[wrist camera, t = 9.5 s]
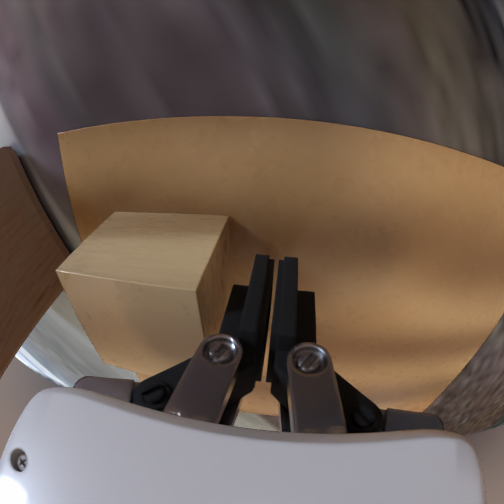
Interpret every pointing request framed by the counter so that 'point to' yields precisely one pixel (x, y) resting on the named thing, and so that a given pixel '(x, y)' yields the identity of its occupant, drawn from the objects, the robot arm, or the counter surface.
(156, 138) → the wooden board
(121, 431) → the robot arm
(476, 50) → the counter surface
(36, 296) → the block
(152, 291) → the oak cube
